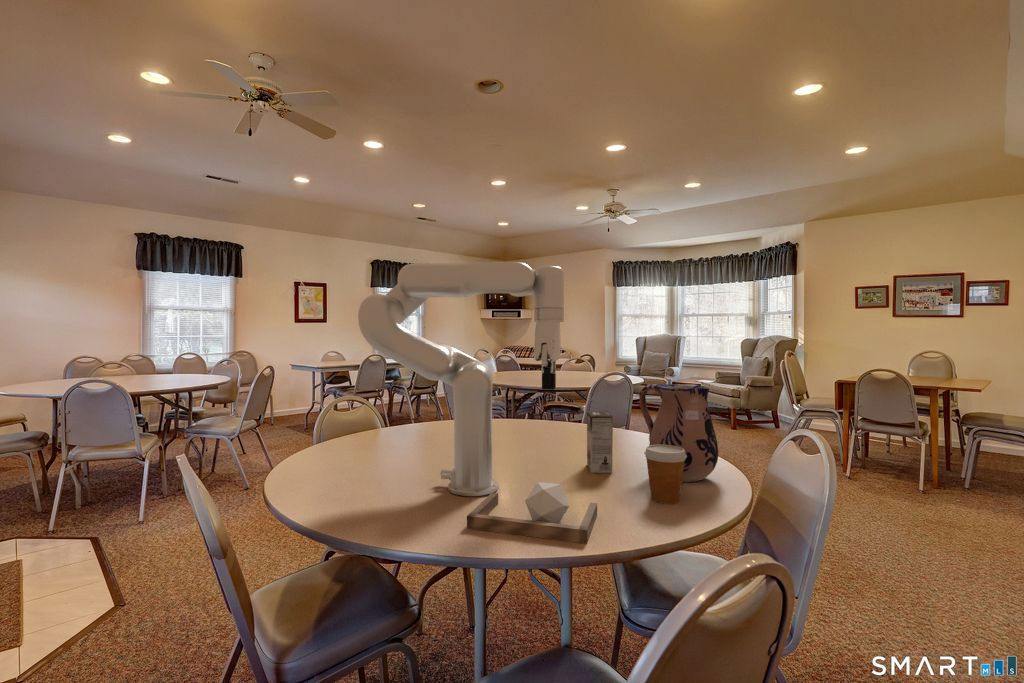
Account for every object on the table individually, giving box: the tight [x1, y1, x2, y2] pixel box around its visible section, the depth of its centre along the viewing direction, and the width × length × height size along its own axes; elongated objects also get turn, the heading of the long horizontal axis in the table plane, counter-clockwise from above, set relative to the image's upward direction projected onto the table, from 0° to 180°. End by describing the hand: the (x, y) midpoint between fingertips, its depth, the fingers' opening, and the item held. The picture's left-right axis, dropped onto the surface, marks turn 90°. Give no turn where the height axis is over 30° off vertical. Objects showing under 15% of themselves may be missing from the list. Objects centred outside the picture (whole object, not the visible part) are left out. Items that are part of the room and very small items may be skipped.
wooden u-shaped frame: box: [466, 492, 598, 545], centre depth 101 cm, size 24×15×2 cm, turn 73°
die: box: [524, 481, 570, 524], centre depth 100 cm, size 8×9×10 cm
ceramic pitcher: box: [638, 383, 719, 483], centre depth 132 cm, size 18×21×25 cm
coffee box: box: [586, 410, 614, 474], centre depth 140 cm, size 9×6×16 cm
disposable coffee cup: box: [644, 445, 687, 505], centre depth 114 cm, size 10×10×12 cm
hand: (548, 388), depth 122 cm, fingers closed
